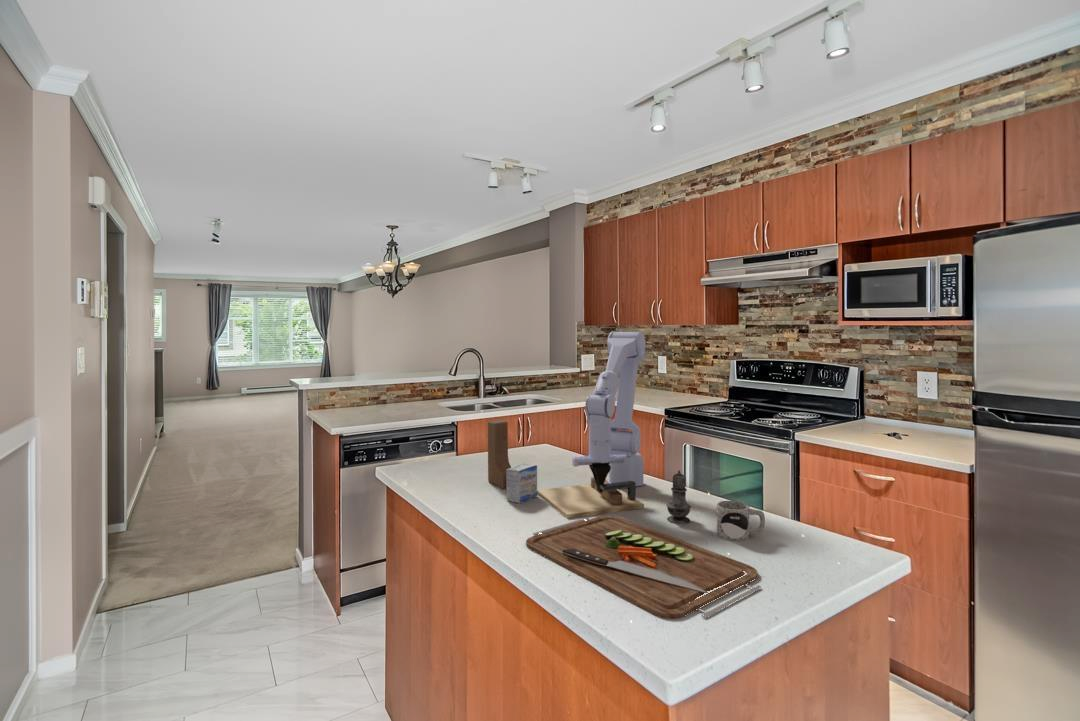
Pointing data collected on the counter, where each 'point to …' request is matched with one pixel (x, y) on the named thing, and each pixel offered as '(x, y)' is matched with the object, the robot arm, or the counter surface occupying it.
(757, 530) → the mug
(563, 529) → the chopping board
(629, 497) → the bar
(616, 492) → the link
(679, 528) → the counter surface
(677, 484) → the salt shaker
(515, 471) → the medicine box
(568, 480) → the counter surface
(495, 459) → the wooden block
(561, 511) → the oak board
